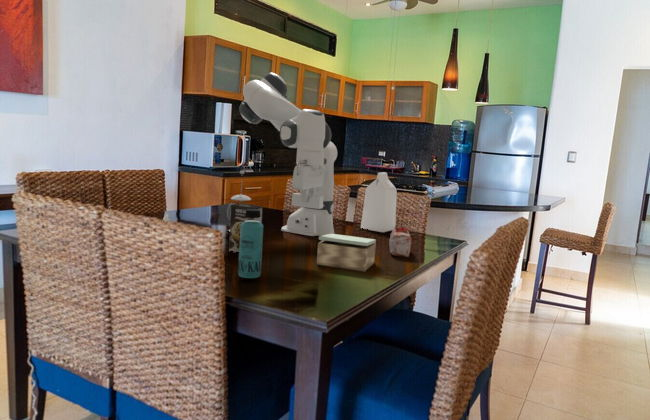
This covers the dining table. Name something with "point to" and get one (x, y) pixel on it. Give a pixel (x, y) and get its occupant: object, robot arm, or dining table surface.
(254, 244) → the beverage bottle
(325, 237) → the lid
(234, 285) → the dining table surface
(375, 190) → the milk
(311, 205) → the white rectangular block
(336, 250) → the box
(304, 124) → the robot arm
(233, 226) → the coffee box
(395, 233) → the food item
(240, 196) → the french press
